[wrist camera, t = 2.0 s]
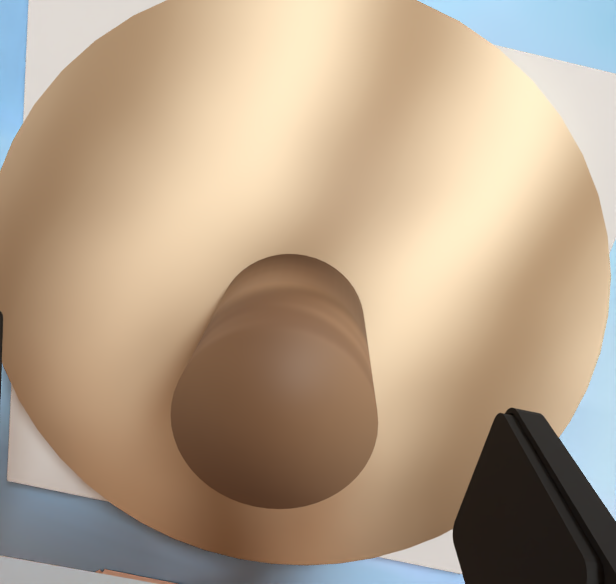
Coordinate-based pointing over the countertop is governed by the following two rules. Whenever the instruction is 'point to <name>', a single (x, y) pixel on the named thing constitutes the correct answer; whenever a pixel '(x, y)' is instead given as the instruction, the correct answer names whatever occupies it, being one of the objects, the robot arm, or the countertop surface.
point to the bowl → (133, 577)
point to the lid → (295, 270)
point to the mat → (125, 3)
